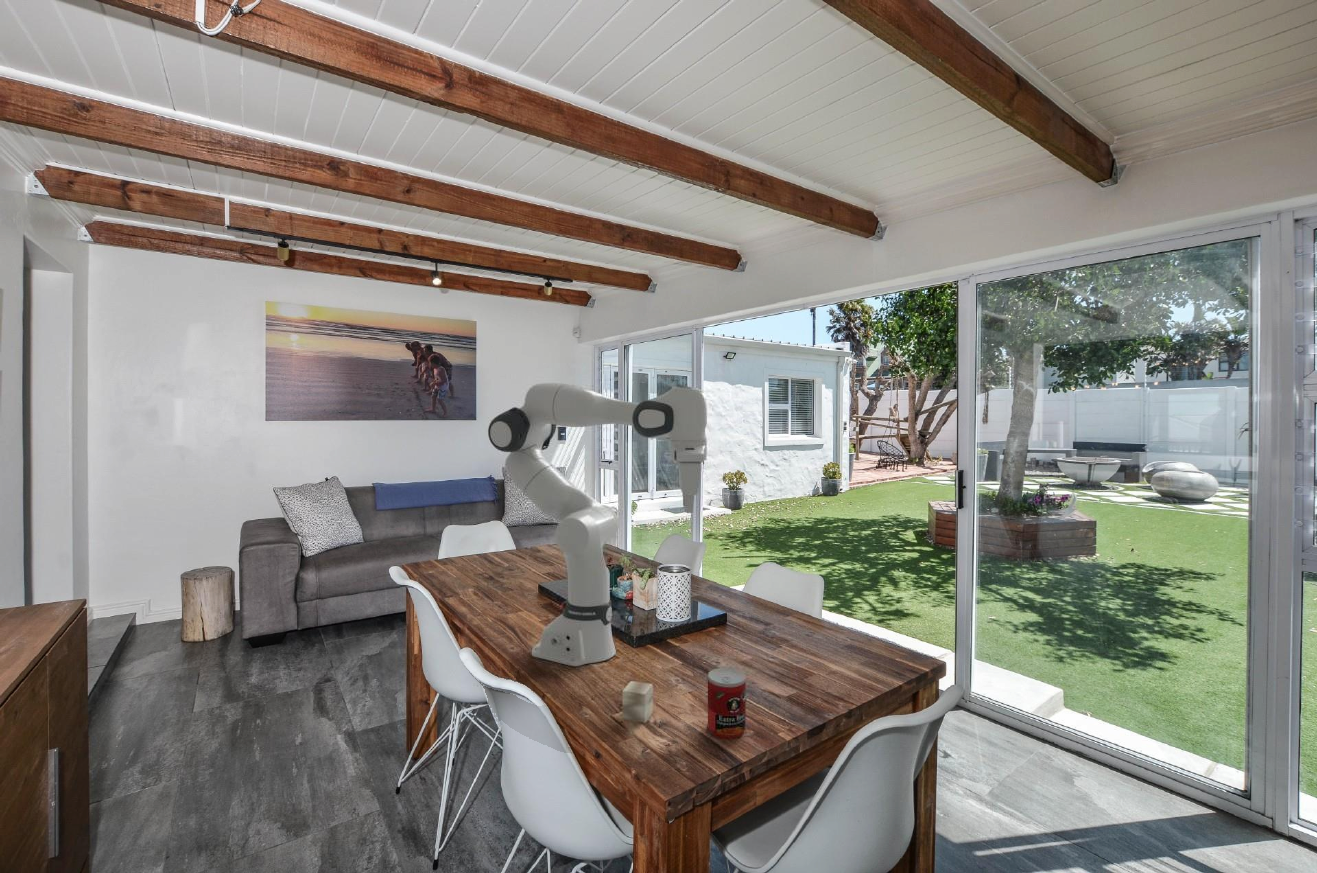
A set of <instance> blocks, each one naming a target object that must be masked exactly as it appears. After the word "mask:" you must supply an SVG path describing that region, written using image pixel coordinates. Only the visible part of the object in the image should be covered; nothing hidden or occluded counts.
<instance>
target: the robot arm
mask: <svg viewBox="0 0 1317 873" xmlns="http://www.w3.org/2000/svg"><path fill="white" fill-rule="evenodd" d="M707 412H708V409H707V399H706V395H705V393H704V391H703V390H701V389H700V388H699V387H698V388H697V387H693V386H687V385H679V384H678V385H674V386H672V388H671V389H670V390H667V392H664V393H663V394H660V395H658V396H656V397H653V398H651V399H650V398H649V399H646V400H643V401H641V402H640V403H639V402H635V401H634V402H633V401H632V402H631V401H625V400H621V399H617V398H614V397H610V396H607V395H604V394H602V393H599V392H596V391H594V390H592V389H588V388H585V387H582V386H578V385H574V384H570V383H569V384H567V383H557V382H551V383H550V382H544V383H536V384H535V385H532V386H531V387H529V389H528V390H527V392H526V394H525V397H524V404H523V405H522V406H521V407H517V406H516V407H511V408H510V409H508V410H506V411H504V412H501V413H500V414H498V415H497V416H495V417H494V418H493V419H492V420H491V421H490V423H489V425H488V428H487V435H488V439H489V441H490V444H491V445H492V446H493V447H494V448H495V449H496V450H498V451H501V452H503V453H509V454H508V455H507V457H506V458H505V463H504V469H505V471H506V473H507V474H508V476H509V478H511V479H510V480H512V482H513V483H514V484H515V486H516V487H517V488H518V489H519V490H520V491H521V493H523V494H524V495H525V497H527V499H529V501H531V502H532V504H533V505H534V506H535V507H537V508H538V509H539V511H541V513H543V514H544V515H545V516H547V517H550V518H553V519H555V520H556V521H559V523H558V525H557V526H556V529H555V532H554V533H555V534H554V537H555V542H556V545H557V547H558V548H559V549H560V551H562V553H563V557H564V560H565V561H564V562H565V565H566V568H567V569H566V570H567V590H568V594H567V595H568V597H567V599H566V600H565V601H563V602H562V604H560V605H559V610H560V611H561V610H562V613H561V614H560V615H558V616H557V617H556V618H555V619H554V620H552V621H551V622H550V623H548V624H547V625H546V626H545V627H544V629H543V630H542V632H541V636H540V641H539V642H537V644H535V646H533V648H532V650H531V656H532V657H535V658H538V659H542V660H546V661H551V662H553V663H554V662H555V663H559V664H563V665H567V666H571V667H579V666H584V665H586V664H593V663H600V662H603V661H607V660H609V659H611V658H612V657H614V656H615V655H616V652H617V650H616V648H615V643H614V639H613V634H612V633H613V632H612V624H611V622H612V615H613V614H612V612H613V610H612V599H611V596H610V595H611V594H610V592H611V590H610V589H611V588H610V584H611V582H610V576H611V574H610V569H608V567H607V565H606V561H605V557H604V553H603V547H604V545H605V544H607V543H609V542H610V541H611V540H612V539H613V538H614V537H615V535H616V534H617V532H618V530H619V526H620V521H619V517H618V515H617V513H616V512H615V511H614V510H613V509H612V508H610V507H608V506H606V505H604V504H602V503H600V502H599V501H598V500H596V499H594V498H593V497H592V496H591V495H590V494H587V493H586V492H585V491H584V490H583V491H582V490H581V489H580V488H578V487H577V486H576V485H575V484H573V483H572V482H571V481H570V480H569V479H568V478H567V477H566V476H565V475H564V474H563V473H562V472H561V471H559V469H558V468H557V467H556V466H555V465H553V463H551V461H550V460H548V459H547V457H545V455H544V454H543V451H544V450H546V449H548V447H549V446H550V443H551V441H552V438H554V435H555V434H556V430H557V426H562V427H569V428H585V427H586V428H587V427H593V426H595V427H596V426H603V425H626V426H630V427H631V426H632V427H633V428H634V430H635V431H636V433H637V434H638V435H640V436H641V437H645V438H647V439H669V459H670V460H671V461H674V466H675V467H676V468H678V486H679V489H680V491H681V493H682V506H683V507H684V512H685V513H686V514H692V513H693V512H694V503H695V496H698V495H699V491H700V484H701V474H702V473H701V472H702V463H704V462H705V461H706V460H707V450H708V448H707V447H708V446H707V445H708V442H707V441H708V439H707V435H706V427H707V424H708V413H707Z"/></svg>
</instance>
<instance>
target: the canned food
mask: <svg viewBox="0 0 1317 873" xmlns="http://www.w3.org/2000/svg"><path fill="white" fill-rule="evenodd" d="M746 696H747V680H746V675H745V673H743V671H741V670H739V669H735V668H731V667H719V668H715V669H712V670H710V671H709V672H708V673H707V728H708V731H709V732H710V733H711V734H712V735H713V736H715V737H717V738H720V739H725V740H727V739H729V740H730V739H736V738H739V737H741V736H742V735H743V734H744V733H745V731H746V726H747V724H746V723H747V722H746V721H747V720H746V718H747V716H746V713H747V712H746V710H747V708H746V706H747V705H746V704H747V702H746V699H747V697H746Z"/></svg>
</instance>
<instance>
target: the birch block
mask: <svg viewBox="0 0 1317 873" xmlns="http://www.w3.org/2000/svg"><path fill="white" fill-rule="evenodd" d="M653 712H654V684H653V683H648V682H641V681H640V682H639V681H633V680H631V681H630V682H628V684H627V685H626V686H625V688H624V689H623V690H622V720H627V721H632V722H637V723H638V722H639V723H644V724H645V723H646V722H647V721H648V720H649V718H650V716H652V714H653Z"/></svg>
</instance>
